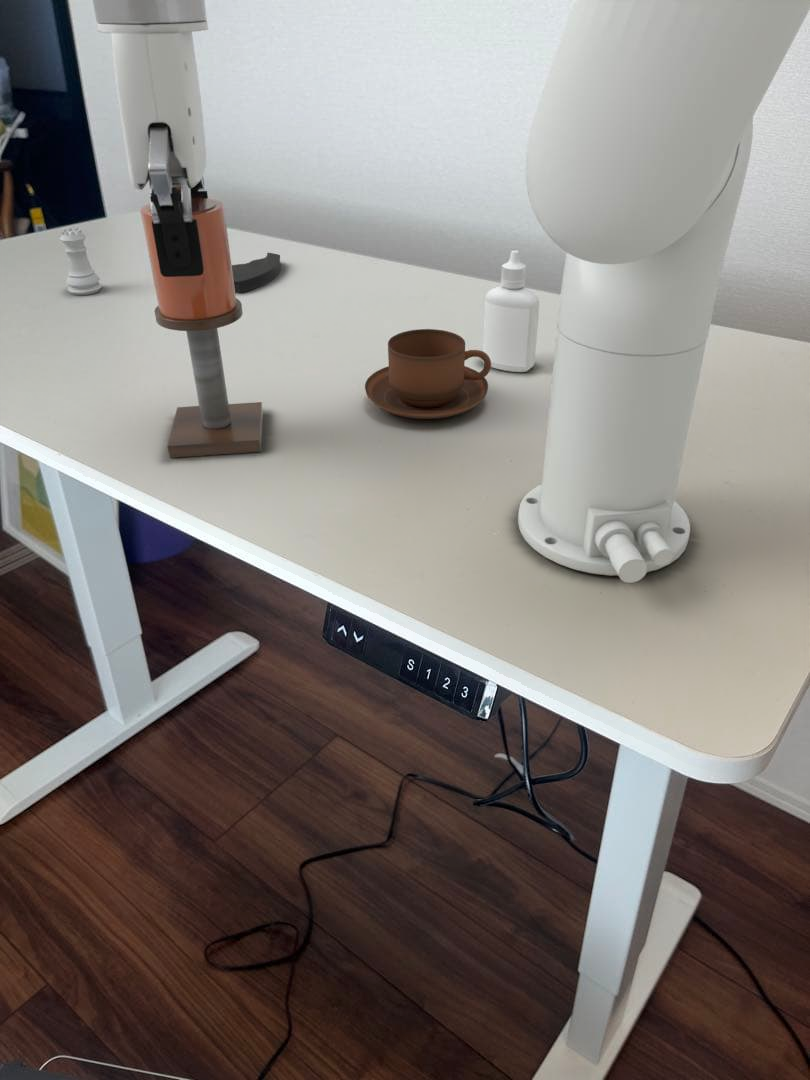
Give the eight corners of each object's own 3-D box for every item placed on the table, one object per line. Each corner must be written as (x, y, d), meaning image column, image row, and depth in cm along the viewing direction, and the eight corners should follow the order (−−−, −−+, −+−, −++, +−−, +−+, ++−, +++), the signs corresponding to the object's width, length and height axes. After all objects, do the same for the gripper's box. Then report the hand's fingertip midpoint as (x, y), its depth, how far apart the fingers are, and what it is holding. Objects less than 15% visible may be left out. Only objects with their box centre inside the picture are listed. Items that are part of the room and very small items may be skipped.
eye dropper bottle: (506, 378, 85) (514, 261, 78) (476, 360, 89) (480, 248, 82) (540, 369, 87) (550, 254, 80) (508, 352, 91) (515, 241, 84)
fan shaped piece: (304, 269, 119) (304, 257, 118) (240, 294, 109) (239, 282, 108) (261, 260, 122) (260, 249, 121) (196, 284, 113) (194, 272, 112)
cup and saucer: (457, 371, 87) (458, 314, 84) (508, 417, 78) (512, 355, 74) (349, 389, 84) (346, 330, 80) (390, 439, 74) (388, 375, 71)
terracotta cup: (234, 317, 66) (220, 213, 62) (154, 321, 66) (134, 216, 61) (238, 293, 72) (225, 195, 67) (164, 296, 71) (146, 198, 67)
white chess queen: (68, 287, 113) (53, 227, 108) (102, 284, 114) (88, 224, 109) (67, 297, 109) (52, 235, 105) (102, 294, 110) (88, 232, 106)
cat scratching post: (261, 452, 73) (244, 320, 66) (169, 458, 72) (142, 325, 65) (263, 413, 79) (248, 289, 72) (179, 418, 79) (156, 294, 72)
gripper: (116, 3, 64) (156, 231, 73) (67, 11, 49) (124, 293, 59) (214, 2, 64) (240, 228, 74) (193, 10, 50) (229, 288, 60)
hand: (189, 257), depth 67 cm, fingers open, 9 cm apart
